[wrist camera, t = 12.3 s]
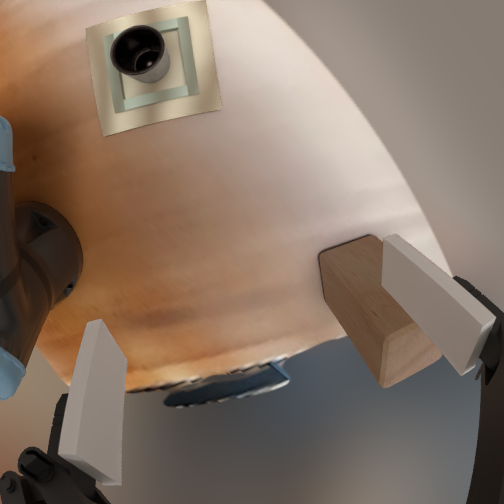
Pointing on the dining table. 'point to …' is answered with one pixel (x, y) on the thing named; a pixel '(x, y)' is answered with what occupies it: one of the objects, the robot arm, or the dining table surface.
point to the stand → (166, 89)
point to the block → (373, 312)
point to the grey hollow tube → (140, 54)
